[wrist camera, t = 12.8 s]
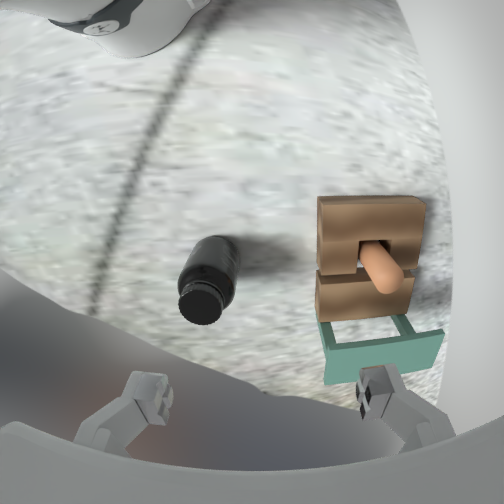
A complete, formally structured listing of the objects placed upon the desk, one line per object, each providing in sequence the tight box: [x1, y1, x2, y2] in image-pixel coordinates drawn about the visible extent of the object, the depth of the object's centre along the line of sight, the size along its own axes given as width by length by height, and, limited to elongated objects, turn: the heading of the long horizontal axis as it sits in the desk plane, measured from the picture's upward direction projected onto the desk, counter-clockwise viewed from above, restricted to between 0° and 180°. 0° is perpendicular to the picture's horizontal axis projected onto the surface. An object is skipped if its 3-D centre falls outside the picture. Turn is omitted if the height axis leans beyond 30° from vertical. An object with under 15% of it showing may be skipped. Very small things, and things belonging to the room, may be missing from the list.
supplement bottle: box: [178, 237, 240, 325], centre depth 36 cm, size 7×7×12 cm
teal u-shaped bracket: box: [316, 314, 445, 385], centre depth 37 cm, size 6×15×14 cm, turn 94°
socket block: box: [315, 196, 426, 323], centre depth 39 cm, size 17×14×4 cm
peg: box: [358, 240, 404, 294], centre depth 35 cm, size 4×4×10 cm
